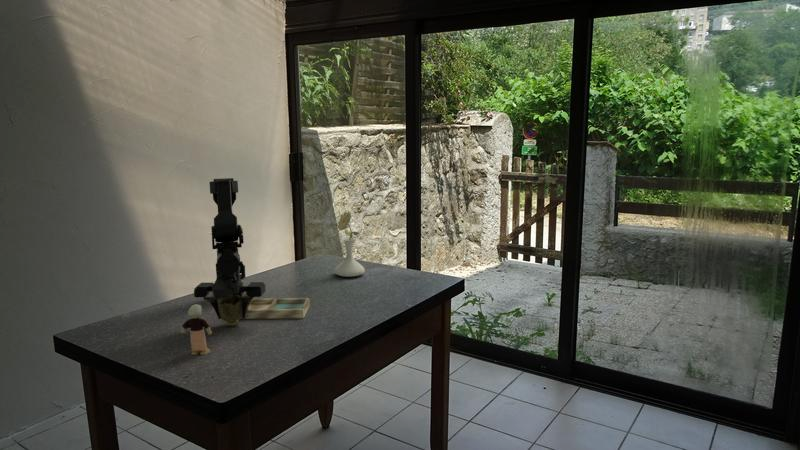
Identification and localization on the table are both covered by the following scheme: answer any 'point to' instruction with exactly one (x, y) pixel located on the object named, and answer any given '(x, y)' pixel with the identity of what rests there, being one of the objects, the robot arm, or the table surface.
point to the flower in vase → (348, 251)
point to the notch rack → (277, 308)
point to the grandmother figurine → (197, 330)
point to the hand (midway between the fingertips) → (232, 318)
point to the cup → (231, 309)
